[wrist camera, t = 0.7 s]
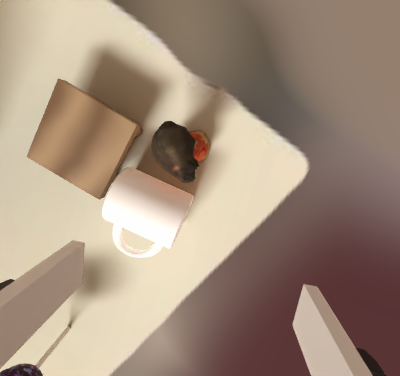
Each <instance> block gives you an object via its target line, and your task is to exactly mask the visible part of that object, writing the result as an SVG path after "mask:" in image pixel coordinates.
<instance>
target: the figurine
mask: <svg viewBox="0 0 400 376" xmlns="http://www.w3.org/2000/svg"><path fill="white" fill-rule="evenodd" d="M151 149H152V154H153V157H154V159H155V161H156V162H157V163H158V164H159V165H160V166H161V167H162V168H164V169H165V170H166V171H167V172H169V173H170V174H172V175H174V176H175V177H177V178H178V179H179V180H181V181H182V182H183V183H189V182H192V181H193V180H194V179H195V170H196V169H197V167H198V166H199V164H198V162H200V161H202V160H205V159H206V157H207V155H208V153H209V150H210V146H209V140H208V138H207V136H206V135H205V133H203V132H202V131H193V132H188V131H187V129H186V128H185V127H183V126H180V125H177V124H175V123H174V122H172V121H166V122H164V123H163V124H162V125H161V126H160V127H159V129H158V130H157V131H156V132H155V134H154V136H153V139H152V148H151Z"/></svg>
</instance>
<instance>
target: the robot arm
mask: <svg viewBox="0 0 400 376" xmlns="http://www.w3.org/2000/svg"><path fill="white" fill-rule="evenodd" d="M84 247H85V243H83V242H78V241H71V242H70V243H68V244H67V245H65V246H64V247H63V248H61V249H60V250H58V251H57V252H55V253H54V254H52V255H51V256H50V257H48V258H47V259H45V260H44V261H42V262H41V263H39V264H38V265H37V266H35V267H34V268H32V269H31V270H29V271H28V272H26V273H25V274H24V275H22V276H21V277H19V278H18V279H16V280H12V279H9V280H7V281H4V282H2V283H0V369H1V367H2V366H3V365H4V364H5V363H6V362H7V361H8V360H9V359H10V358H11V357H12V356H13V355H14V354H15V353H16V352H17V351H18V350H19V349H20V348H21V347H22V346H23V345H24V343H25V342H26V341H27V340H28V339H29V338H30V337H31V336H32V335H33V334H34V333H35V332H36V331H37V330H38V329H39V328H40V327H41V326H42V325H43V324H44V323H45V322H46V321H47V319H48V318H49V317H50V316H51V315H52V314H53V313H54V312H55V311H56V310H57V309H58V308H59V307H60V306H61V305H62V304H63V303H64V302H65V301H66V300H67V299H68V298H69V297H70V295H71V294H72V293H73V292H74V291H75V290H76V289H77V288H78V287H79V286H80V285H81V284H82V280H83V263H84ZM293 328H294V330H295V333H296V336H297V338H298V341H299V344H300V346H301V349H302V352H303V354H304V357H305V360H306V363H307V365H308V368H309V371H310V373H311V376H386V375H384V372H383V370H382V369H381V367H380V366H379V364H378V363H377V361H376V360H375V359H374V358H373V357H372V356H371V355H369V354H368V353H367V352H366V351H365V350H364V349H359V348H355V347H354V345H353V343H352V342H351V340H350V339H349V337H348V335H347V334H346V332H345V331H344V329H343V328H342V326H341V324H340V323H339V321H338V319H337V318H336V316H335V315H334V313H333V312H332V310H331V308H330V307H329V305H328V303H327V302H326V300H325V299H324V297H323V295H322V294H321V293H320V291H319V289H318V287H315V286H310V285H303V289H302V292H301V296H300V300H299V303H298V307H297V311H296V314H295V318H294V321H293Z"/></svg>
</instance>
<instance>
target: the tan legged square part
mask: <svg viewBox="0 0 400 376" xmlns="http://www.w3.org/2000/svg"><path fill="white" fill-rule="evenodd" d="M141 133H142V129H141V128H140V125H138V124H137V123H135V122H133V121H132V120H130V119H128V118H127V117H125V116H123V115H122V114H120V113H118V112H117V111H115V110H113V109H112V108H110V107H108V106H107V105H105V104H103V103H102V102H100V101H98V100H97V99H95V98H93V97H92V96H90V95H88V94H87V93H85V92H83V91H82V90H80V89H78V88H77V87H75V86H73V85H72V84H70V83H68V82H67V81H64V80H61V79H58V81H57V83H56V86H55V88H54V91H53V93H52V95H51V98H50V100H49V103H48V105H47V108H46V110H45V113H44V115H43V118H42V120H41V122H40V125H39V127H38V130H37V132H36V135H35V137H34V140H33V142H32V145H31V147H30V150H29V152H28V154H27V157H28V158H30V159H31V160H33V161H35V162H36V163H38V164H40V165H41V166H43V167H45V168H47V169H48V170H50V171H52V172H53V173H55V174H57V175H58V176H60V177H62V178H64V179H65V180H67V181H69V182H70V183H72V184H74V185H75V186H77V187H79V188H80V189H82V190H84V191H86V192H87V193H89V194H91V195H92V196H94V197H96V198H97V199H99V200H100V199H102V198H104V197H105V195H106V193H107V191H108V189H109V187H110V185H111V183H113V182H114V180H115V179H116V177H117V176H118V175H117V174H116V173H117V172H118V170H119V168H120V166H121V164H122V162H123V160H124V158H125V156H126V154H127V152H128V150H129V148H130V146H131V144H132V142H133V140H134V138H135V136H139V135H141Z"/></svg>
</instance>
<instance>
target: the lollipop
mask: <svg viewBox="0 0 400 376" xmlns="http://www.w3.org/2000/svg"><path fill="white" fill-rule="evenodd" d="M70 329H71V327H70V326H68V327H67V328H66V329H65V330H64V332H63V333H62V334H61V335H60V336H59V338H58V339H57V340H56V341H55V342H54V344H53V345H52V346H51V347H50V348H49V350H48V351H47V352H46V353H45V354H44V356H43V357H42V358H41V359H40V360H39V362H38V363H37V364H36V365H35V366H34V365H31V364H19V365H15V366H13V367H11V368H9V369H5V370H3V371H2V372H0V376H43V375H42V373H41V371H40V370H39V369H38V368H39V367H40V366H41V365H42V363H43V362H44V361H45V360H46V359H47V357H48V356H49V355H50V354H51V352H52V351H53V350H54V349H55V347H56V346H57V345H58V344H59V342H60V341H61V340H62V339H63V337H64V336H65V335H66V334H67V332H68V331H69V330H70Z"/></svg>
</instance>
